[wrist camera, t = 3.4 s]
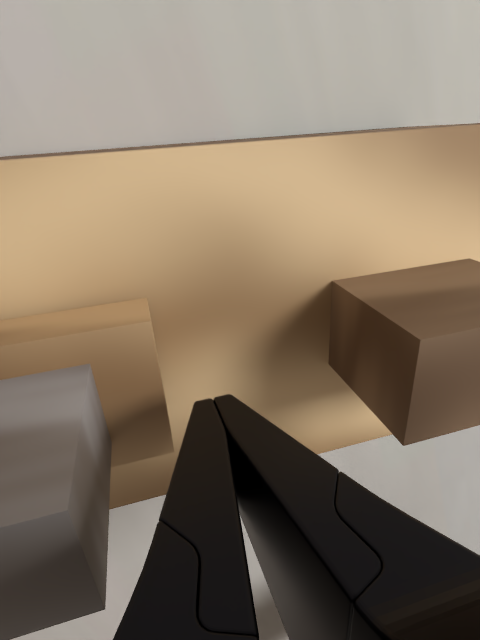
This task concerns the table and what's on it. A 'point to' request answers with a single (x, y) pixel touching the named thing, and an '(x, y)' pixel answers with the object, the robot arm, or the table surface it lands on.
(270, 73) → the table surface
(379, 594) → the robot arm
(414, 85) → the table surface
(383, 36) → the table surface
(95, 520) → the block
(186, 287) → the lid
